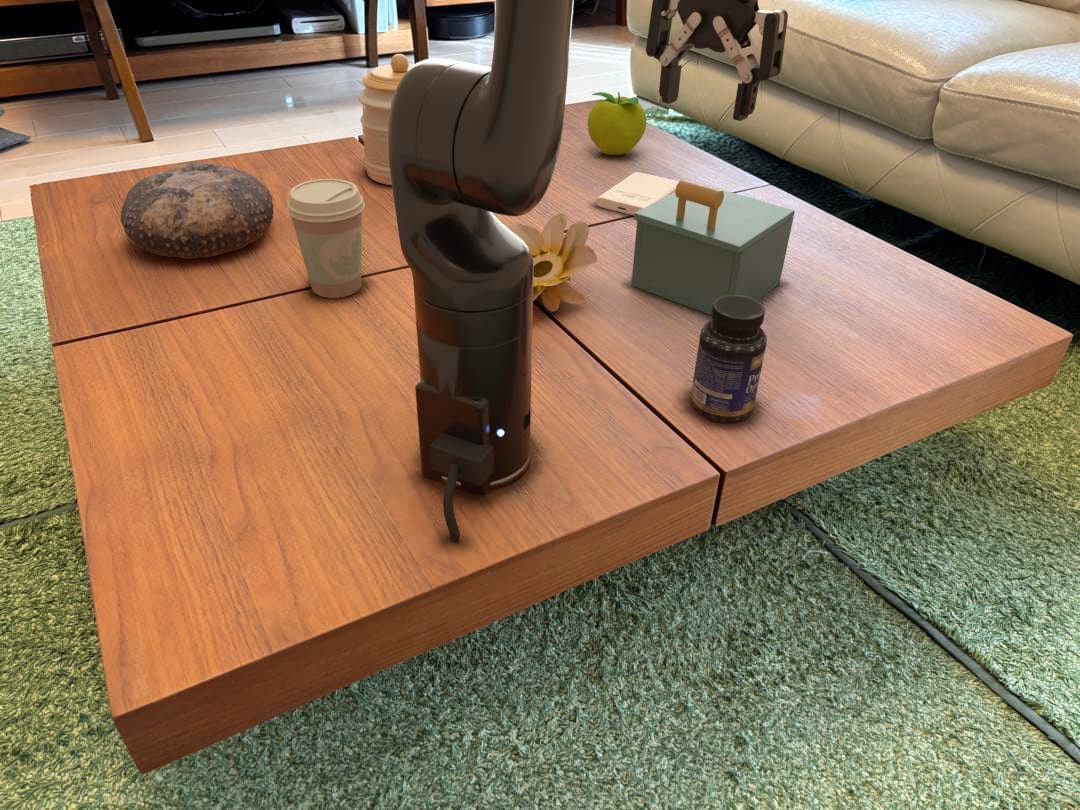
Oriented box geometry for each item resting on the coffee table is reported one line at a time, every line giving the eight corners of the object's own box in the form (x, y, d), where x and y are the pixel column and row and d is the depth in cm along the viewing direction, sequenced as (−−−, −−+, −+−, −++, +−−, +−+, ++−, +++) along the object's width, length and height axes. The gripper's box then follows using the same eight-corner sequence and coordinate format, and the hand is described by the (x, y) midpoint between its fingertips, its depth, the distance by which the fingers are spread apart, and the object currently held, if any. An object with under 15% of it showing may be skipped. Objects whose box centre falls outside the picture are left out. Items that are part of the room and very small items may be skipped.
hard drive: (682, 192, 127) (646, 219, 118) (633, 181, 130) (596, 206, 122) (683, 181, 126) (648, 208, 117) (634, 170, 129) (596, 195, 121)
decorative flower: (452, 262, 102) (469, 184, 96) (531, 264, 108) (552, 191, 102) (503, 326, 92) (527, 243, 86) (588, 325, 97) (614, 247, 92)
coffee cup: (316, 310, 95) (300, 211, 88) (290, 281, 101) (273, 185, 94) (385, 292, 99) (375, 195, 92) (356, 264, 105) (345, 171, 98)
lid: (738, 253, 89) (746, 207, 86) (633, 219, 96) (637, 175, 93) (793, 216, 98) (803, 173, 95) (693, 187, 105) (699, 146, 102)
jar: (354, 165, 133) (341, 48, 123) (430, 154, 138) (424, 40, 128) (382, 193, 124) (370, 69, 114) (462, 180, 129) (458, 60, 119)
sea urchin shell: (112, 271, 100) (90, 187, 96) (147, 234, 117) (129, 161, 113) (272, 257, 104) (258, 176, 99) (284, 223, 120) (272, 152, 116)
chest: (729, 322, 95) (742, 251, 90) (630, 285, 102) (637, 217, 97) (779, 284, 103) (793, 217, 98) (684, 252, 110) (693, 187, 105)
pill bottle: (752, 428, 79) (774, 327, 72) (687, 419, 80) (703, 319, 73) (752, 392, 84) (772, 294, 77) (691, 384, 84) (706, 287, 78)
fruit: (615, 166, 135) (620, 103, 130) (576, 151, 141) (579, 90, 135) (653, 155, 140) (660, 94, 134) (614, 140, 146) (618, 81, 140)
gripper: (642, -70, 79) (628, 104, 89) (780, -55, 72) (748, 133, 81) (683, -76, 84) (665, 90, 93) (816, -62, 77) (782, 116, 86)
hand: (704, 110), depth 87 cm, fingers open, 8 cm apart
